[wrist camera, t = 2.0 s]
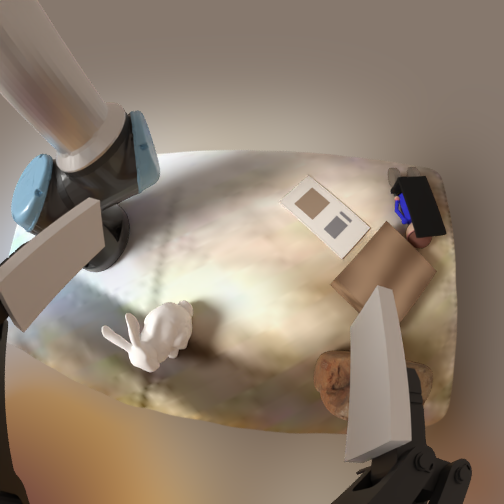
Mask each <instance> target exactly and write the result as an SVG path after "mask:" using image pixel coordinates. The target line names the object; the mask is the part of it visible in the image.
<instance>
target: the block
mask: <svg viewBox="0 0 504 504" xmlns="http://www.w3.org/2000/svg"><path fill="white" fill-rule="evenodd" d="M405 362H406V367H408V368H413V369H415V370H416V372H417V374H418V377H419V379H420V382H421V390H422V394H421V395H422V398H423V404H422V405H424V403H425V401H426V400H427V398H428V396H429V393H430V391H431V388H432V381H433V373H432V371H431V369H430V368H429V367H427V366H426V365H424V364H420V363H416V362H412V361H407V360H405ZM350 369H351V352H350V351H328V352H325V353H323V354H322V355H320V357H319V358H318V360H317V363H316V366H315V370H314V385H315V388H316V390H317V391H318V392H320V395H321V399H322V401H323V403H324V405H325V407H326V408H327V409H328V410H329V411H330V412H331V413H332V414H333V415H335V416H336V417H339V418H341V419H344V420H347V421H348V416H349V399H350Z"/></svg>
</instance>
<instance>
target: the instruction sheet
mask: <svg viewBox="0 0 504 504" xmlns="http://www.w3.org/2000/svg"><path fill="white" fill-rule="evenodd" d="M279 203H280V204H281V205H282V206H283V207H285V208H286V209H287V210H288V211H289V212H290V213H291V214H293V215H294V216H295V217H296V218H297V219H298V220H299V221H300V222H302V223H303V224H304V225H305V226H306V227H307V228H308V229H309V230H310V231H312V232H313V233H314V234H315V235H316V236H317V237H318V238H319V239H320V240H321V241H323V242H324V243H325V244H326V245H327V246H328V247H329V248H330V249H331V250H332V251H333V252H334V253H335V254H336V255H338V256H339V257H340V258H341V259H343V257H344V256H345V255H346V254H347V253H348V252H349V251H350V250H351V249H352V248H353V247H354V245H355V244H356V243H357V242H358V241H359V240H360V239H361V238H362V237H363V235H364V234H365V233H366V232H367V231H368V230H369V229H370V227H369V226H368V225H367V224H366V223H364V222H363V221H362V220H361V219H360V218H359V217H358V216H357V215H356V214H354V213H353V212H352V211H351V210H350V209H349V208H348V207H346V206H345V205H344V204H343V203H342V202H341V201H339V200H338V199H337V198H336V197H335V196H333V195H332V194H331V193H330V192H329V191H327V190H326V189H325V188H324V187H323V186H321V185H320V184H319V183H318V182H316V181H315V180H314V179H313V178H311V177H310V176H309V175H308V176H307V177H306V178H305V179H303V180H302V181H301V182H300V183H299V184H298V185H297V186H296V187H294V188H293V189H292V190H291V191H290V192H289V193H288V194H287V195H285V196H284V197H283V198H282V199H281V200H280V201H279Z"/></svg>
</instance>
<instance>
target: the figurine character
mask: <svg viewBox="0 0 504 504" xmlns="http://www.w3.org/2000/svg"><path fill="white" fill-rule="evenodd" d="M388 180H389V183H390V185H391V187H392V189H391V194H392V193H393V194H394V196H395V198H394V199H395V212H396V213H397V214H398V216H399V217H400V218H401V220H402V224H410V225H409V226H408V228H407V230H406V238H407V241H408V242H409V243H410V244H411V245H412V246H413V247H414V248H424V247H426V246H427V245H428V244H429V243H430V242H431V240H432V236H439V235H445V234H446V230H445V227H444V224H443V221H442V218H441V215H440V212H439V209H438V206H437V204H436V201H435V198H434V196H433V193H432V190H431V188H430V185H429V183H428V181H427V178H426V176H420V173H419V171H418V169H417V168H416V167H409V168H408V170H407V177H401V176H400V172H399V170H398V169H397V168H389V170H388ZM397 193H400V194H398V195H397ZM399 203H400V205H401V208H402V211H403V213H404V216H405V217H404V216H403V215H402V214H401V212H400V211H399V210H398V208H399Z"/></svg>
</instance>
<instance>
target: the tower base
mask: <svg viewBox="0 0 504 504" xmlns="http://www.w3.org/2000/svg"><path fill="white" fill-rule="evenodd" d="M436 272H437V271H436V270H435V269H434V268H433V267H432V266H431V265H430V263H429V262H428V261H427V260H426V259H425V258H424V257H423V256H422V255H421V254H420V253H419V252H418V251H417V250H416V249H415V248H414V247H413V246H412V245H411V244H410V243H409V242H408V241H407V240H406V239H405V238H404V237H403V236H402V235H401V234H400V233H399V232H398V231H397V230H396V229H395V228H394V227H392V226H391V225H390V224H389V223H388V222H387V221H386V222H385V223H384V224H383V226H382V227H381V228H380V229H379V230H378V232H377V233H376V234H375V235H374V236H373V237H372V239H371V240H370V241H369V242H368V243H367V244H366V245H365V247H364V248H363V249H362V250H361V251H360V252H359V253H358V254H357V256H356V257H355V258H354V259H353V260H352V261H351V262H350V263H349V264H348V266H347V267H346V268H345V269H344V270H343V271H342V272H341V273H340V274H339V275H338V276H337V277H336V279H335V280H334V281H333V282H332V283H331V284H330V285H331V286H332V287H333V288H334V289H335V290H336V291H337V292H338V293H339V294H340V295H341V296H342V297H343V298H344V299H345V300H346V301H347V302H348V303H349V304H351V305H352V306H353V307H354V308H355V309H356V310H357V311H358V312H359V313H360V312H361V310H362V309H363V307H364V305H365V304H366V302H367V301H368V299H369V298H370V296H371V295H372V293H373V291H374V290H375V288H376V287H377V285H379V286H382V287H385V288H388V289H391V290H392V291H393V295H394V300H395V304H396V309H397V314H398V319H399V323H400V322H401V321H402V319H403V318H404V317H405V316H406V314H407V313H408V312H409V310H410V309H411V308H412V306H413V305H414V304H415V302H416V301H417V299H418V298H419V297H420V295H421V294H422V292H423V291H424V290H425V288H426V287H427V285H428V284H429V282H430V281H431V279H432V278H433V276H434V275H435V273H436Z"/></svg>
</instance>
